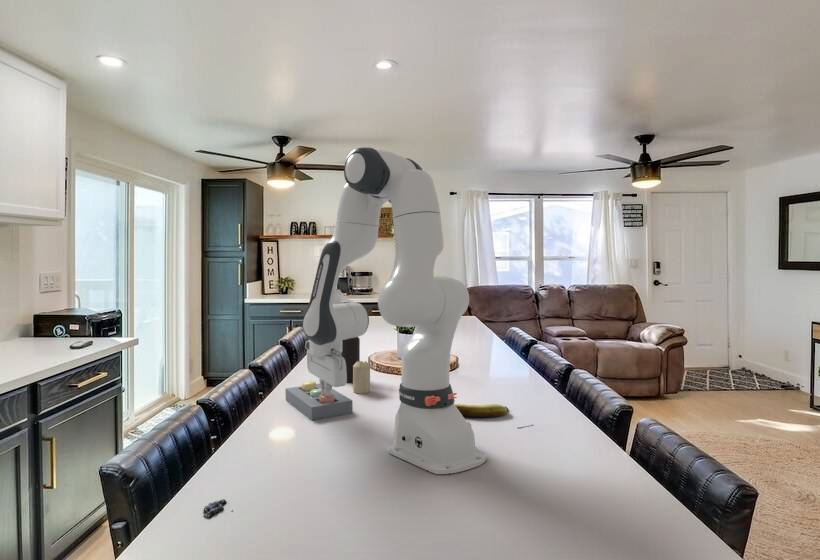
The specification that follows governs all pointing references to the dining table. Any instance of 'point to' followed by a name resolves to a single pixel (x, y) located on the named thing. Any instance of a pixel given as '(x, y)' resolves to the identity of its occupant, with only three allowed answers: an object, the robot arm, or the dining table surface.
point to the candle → (361, 377)
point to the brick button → (326, 398)
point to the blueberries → (214, 508)
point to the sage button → (315, 393)
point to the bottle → (350, 355)
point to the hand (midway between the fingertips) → (326, 395)
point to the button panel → (318, 403)
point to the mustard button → (308, 386)
